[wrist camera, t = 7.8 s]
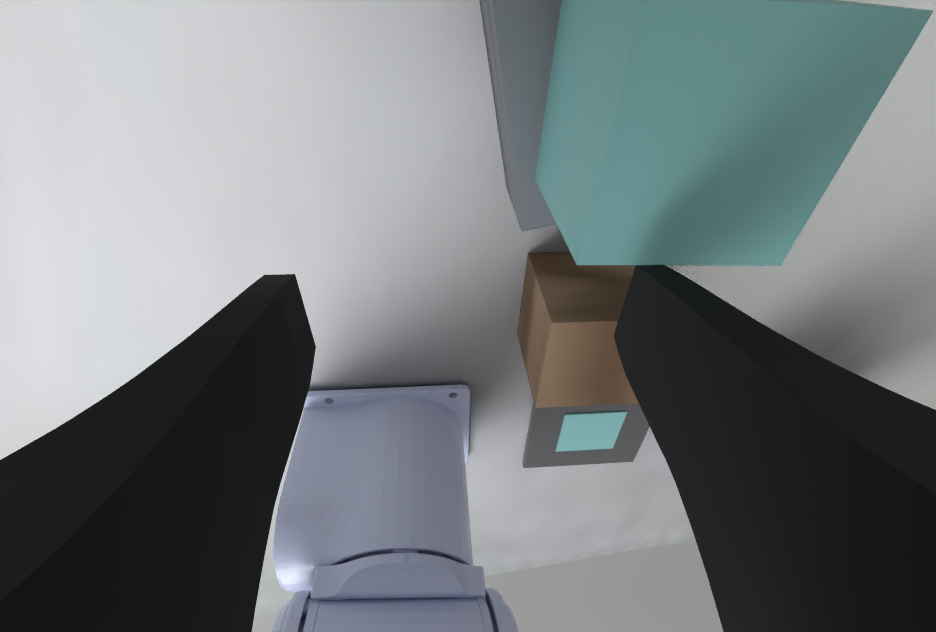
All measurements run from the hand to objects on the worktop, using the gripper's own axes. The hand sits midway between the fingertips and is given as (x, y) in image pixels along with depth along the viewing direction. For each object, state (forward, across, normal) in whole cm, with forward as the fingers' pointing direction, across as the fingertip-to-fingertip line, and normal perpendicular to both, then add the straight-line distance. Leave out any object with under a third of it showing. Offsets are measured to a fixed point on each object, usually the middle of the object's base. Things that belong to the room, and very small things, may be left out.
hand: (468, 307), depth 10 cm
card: (+9, -9, +18) cm, 22 cm away
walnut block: (+10, -6, +7) cm, 13 cm away
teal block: (+6, -5, -3) cm, 8 cm away
